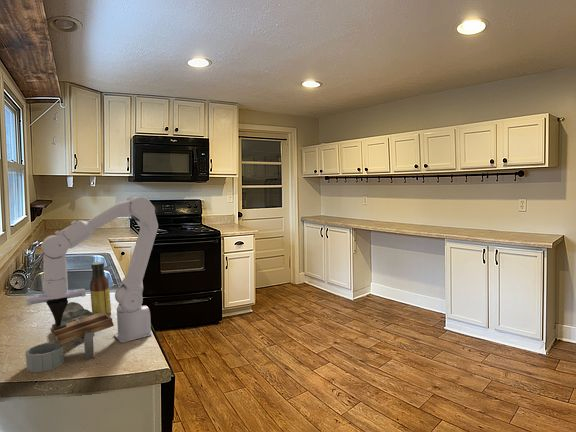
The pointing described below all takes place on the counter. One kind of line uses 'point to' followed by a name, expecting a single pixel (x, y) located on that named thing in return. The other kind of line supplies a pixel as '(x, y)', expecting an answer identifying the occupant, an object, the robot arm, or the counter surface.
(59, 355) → the cup
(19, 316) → the counter surface
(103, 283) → the sauce bottle
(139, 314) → the robot arm
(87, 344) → the lever stand
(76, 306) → the detergent
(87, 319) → the lever
